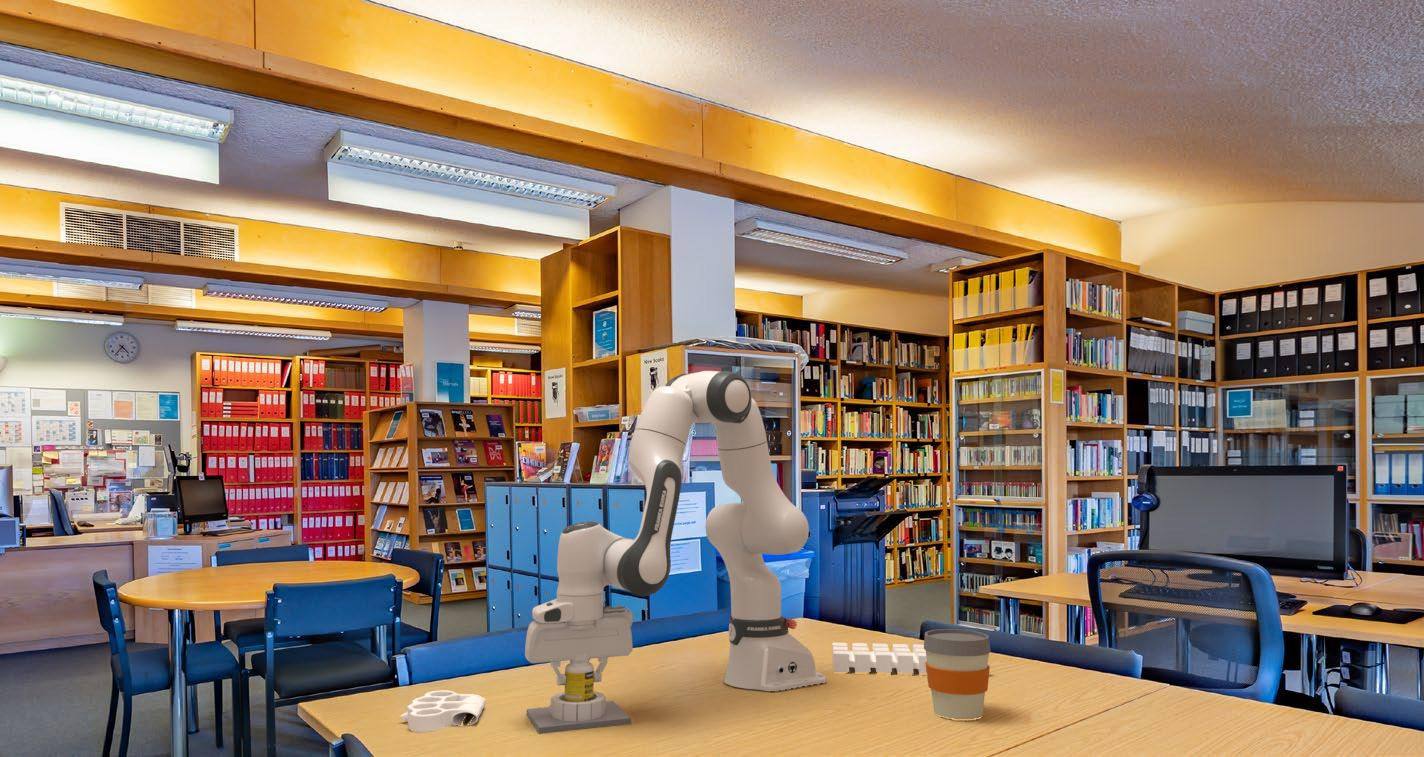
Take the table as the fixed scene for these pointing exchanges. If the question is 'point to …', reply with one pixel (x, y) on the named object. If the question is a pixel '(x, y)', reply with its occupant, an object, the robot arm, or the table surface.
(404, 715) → the white multi-hole bracket
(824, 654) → the table surface
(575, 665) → the supplement bottle
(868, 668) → the organizer
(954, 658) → the reusable coffee cup
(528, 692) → the table surface
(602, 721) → the mount plate
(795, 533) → the robot arm
